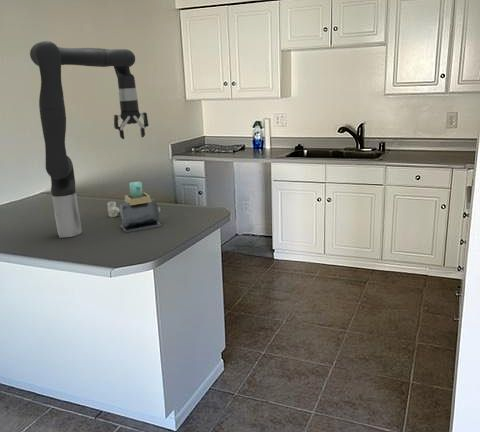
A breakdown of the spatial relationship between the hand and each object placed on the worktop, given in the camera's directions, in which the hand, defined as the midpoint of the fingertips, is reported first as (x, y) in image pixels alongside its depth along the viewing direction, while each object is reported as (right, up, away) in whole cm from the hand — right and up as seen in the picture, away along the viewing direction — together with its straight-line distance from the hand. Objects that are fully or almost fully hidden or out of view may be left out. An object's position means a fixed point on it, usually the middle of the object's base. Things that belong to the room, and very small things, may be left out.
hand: (132, 138), depth 205 cm
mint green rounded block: (+3, -27, -6) cm, 28 cm away
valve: (-10, -35, +14) cm, 38 cm away
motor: (+4, -38, -3) cm, 39 cm away
